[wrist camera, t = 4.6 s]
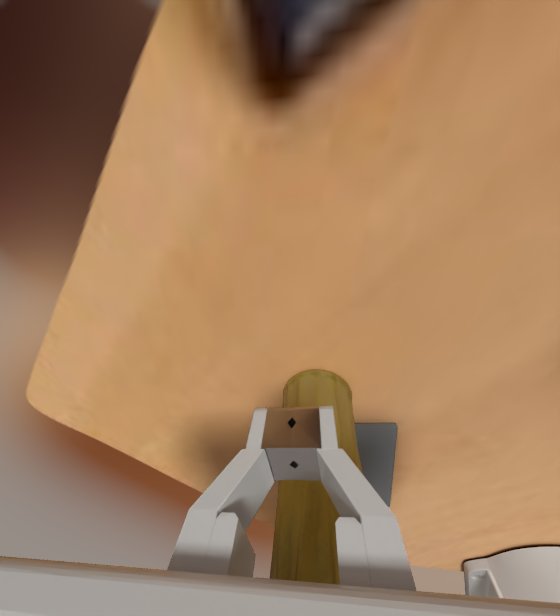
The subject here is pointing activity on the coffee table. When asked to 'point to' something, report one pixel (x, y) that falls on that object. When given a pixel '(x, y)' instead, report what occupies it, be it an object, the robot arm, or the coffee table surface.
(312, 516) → the vase
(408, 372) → the coffee table surface
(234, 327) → the coffee table surface
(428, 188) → the coffee table surface
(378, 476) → the mat
